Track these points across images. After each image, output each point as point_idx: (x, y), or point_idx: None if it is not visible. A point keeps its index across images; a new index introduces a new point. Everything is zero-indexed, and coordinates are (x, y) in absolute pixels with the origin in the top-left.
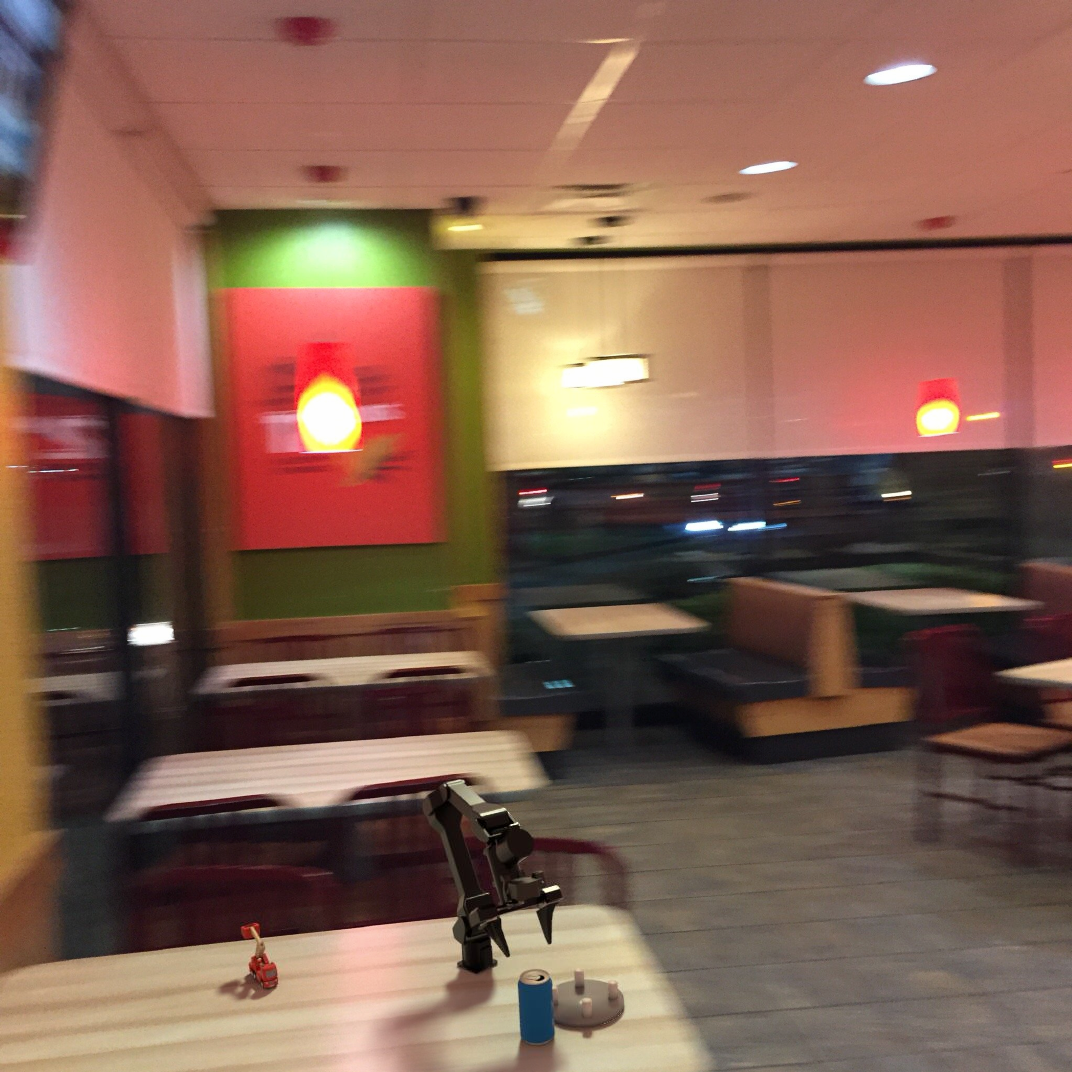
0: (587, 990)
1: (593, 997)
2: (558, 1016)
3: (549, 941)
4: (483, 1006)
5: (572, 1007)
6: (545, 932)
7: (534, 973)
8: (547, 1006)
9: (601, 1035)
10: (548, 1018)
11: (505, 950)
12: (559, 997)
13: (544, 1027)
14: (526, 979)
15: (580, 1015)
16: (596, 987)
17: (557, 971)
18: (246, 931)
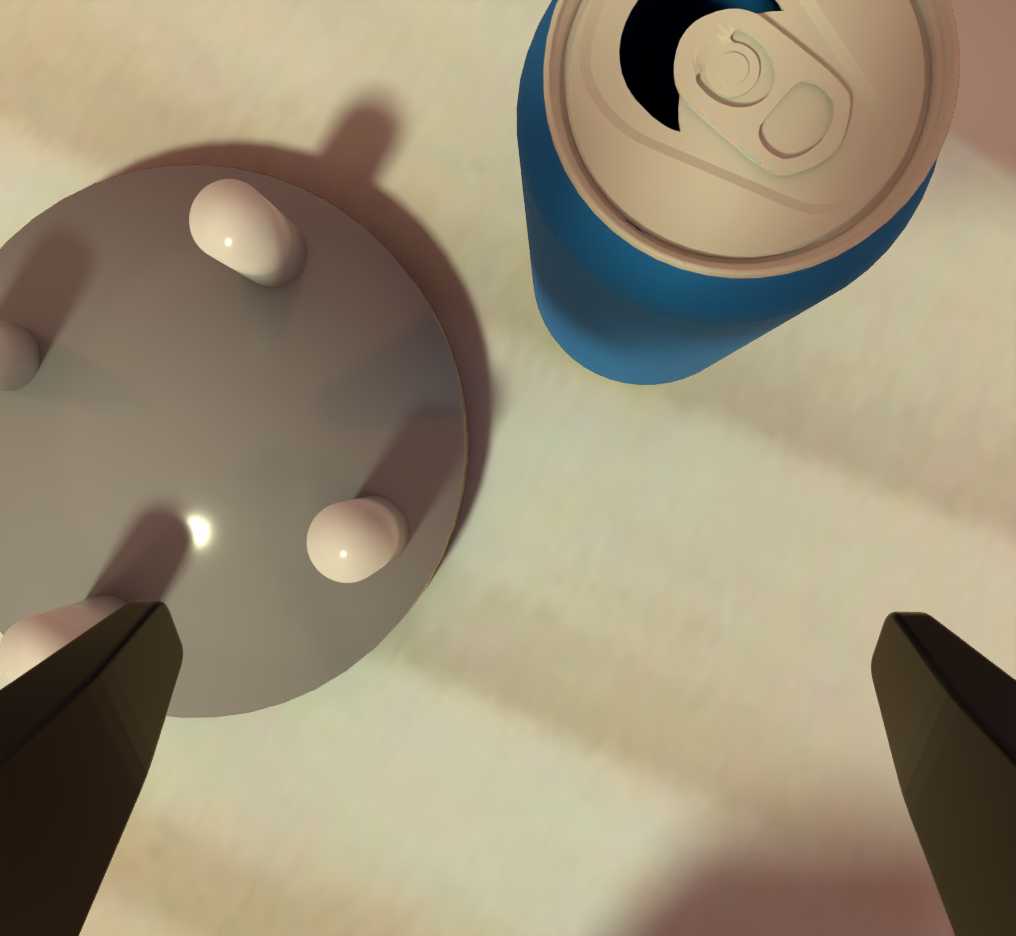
0: (103, 530)
1: (118, 426)
2: (436, 352)
3: (148, 620)
4: (759, 819)
5: (300, 397)
6: (81, 799)
7: (692, 175)
8: (653, 29)
9: (298, 81)
10: (633, 91)
11: (1008, 679)
12: (306, 561)
13: (669, 111)
14: (858, 99)
15: (308, 278)
16: (33, 528)
17: (125, 920)
18: None
